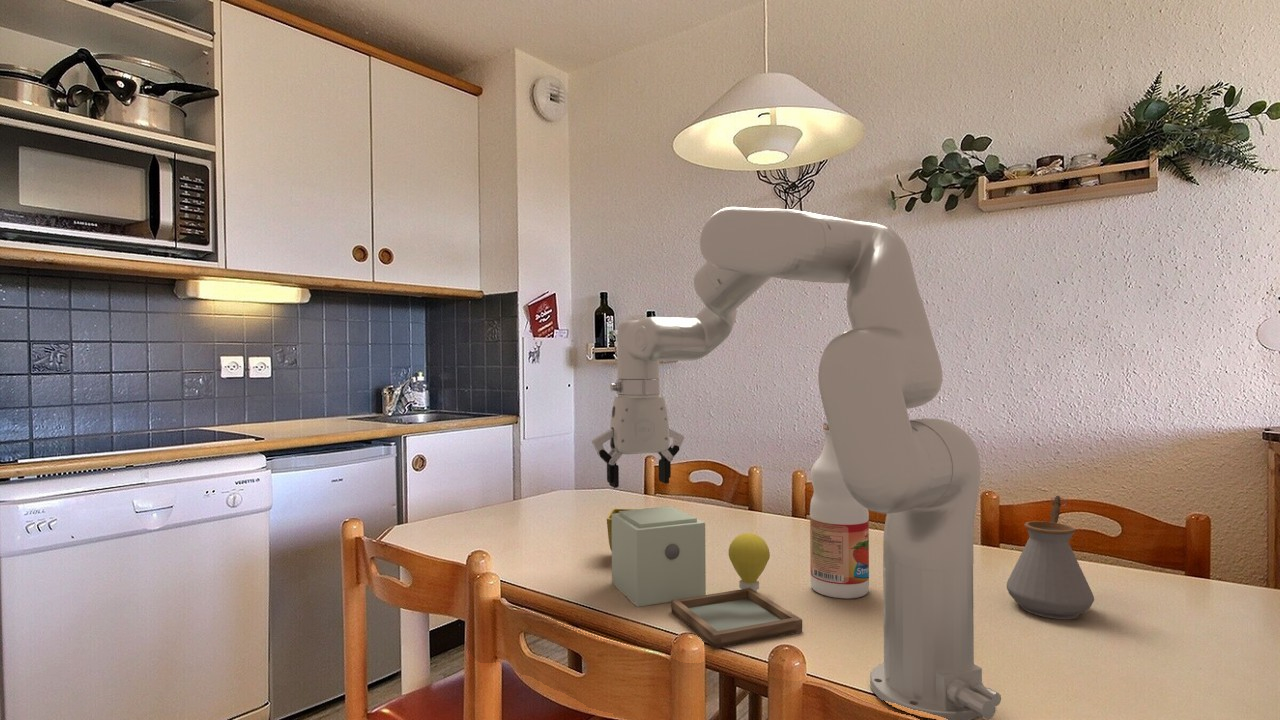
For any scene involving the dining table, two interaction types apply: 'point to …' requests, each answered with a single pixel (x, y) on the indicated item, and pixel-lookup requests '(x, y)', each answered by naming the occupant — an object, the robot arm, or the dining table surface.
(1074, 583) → the coffee pot
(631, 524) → the housing unit
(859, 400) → the robot arm
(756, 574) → the light bulb
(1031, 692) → the dining table surface
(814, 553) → the fruit juice
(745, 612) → the tray
